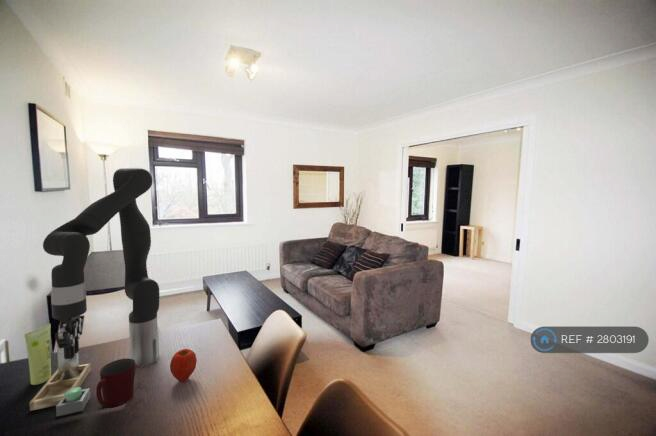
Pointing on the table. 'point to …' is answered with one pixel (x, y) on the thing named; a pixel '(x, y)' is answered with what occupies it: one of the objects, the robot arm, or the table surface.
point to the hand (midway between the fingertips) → (71, 355)
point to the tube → (39, 354)
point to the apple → (183, 364)
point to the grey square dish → (73, 404)
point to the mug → (116, 382)
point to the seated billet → (67, 365)
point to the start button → (73, 394)
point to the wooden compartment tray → (58, 388)
